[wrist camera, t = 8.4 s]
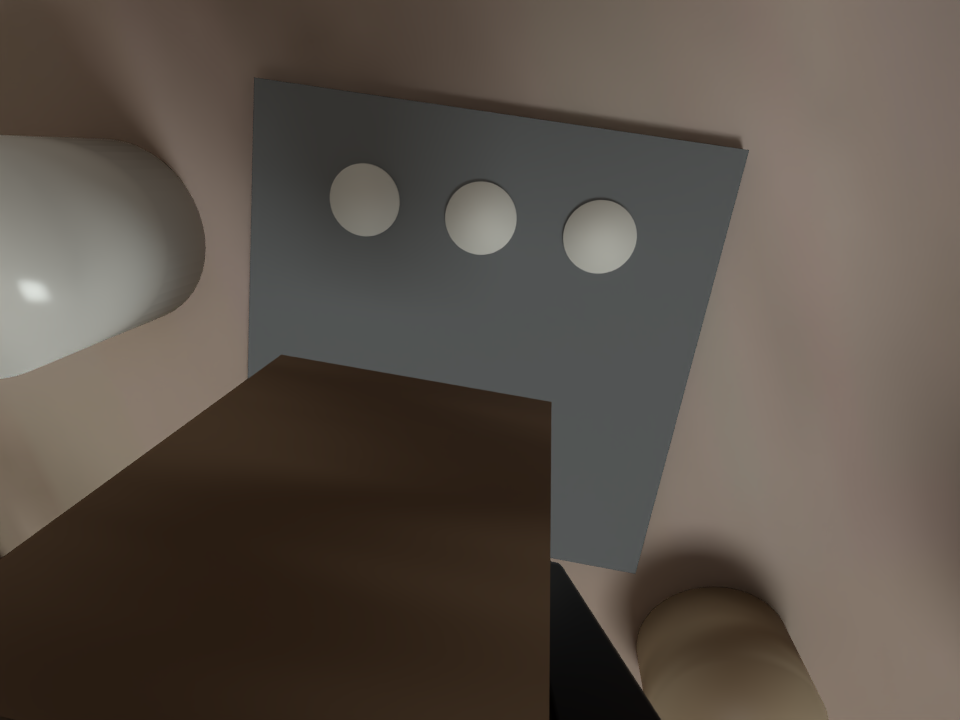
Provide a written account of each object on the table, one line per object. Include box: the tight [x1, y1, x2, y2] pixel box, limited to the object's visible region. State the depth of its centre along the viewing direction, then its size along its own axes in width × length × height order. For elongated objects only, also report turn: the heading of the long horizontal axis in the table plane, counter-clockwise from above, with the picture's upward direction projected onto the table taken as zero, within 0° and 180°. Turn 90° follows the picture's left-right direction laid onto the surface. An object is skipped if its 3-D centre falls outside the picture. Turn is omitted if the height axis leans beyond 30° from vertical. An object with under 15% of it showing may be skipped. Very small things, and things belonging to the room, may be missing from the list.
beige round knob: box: [636, 587, 828, 720], centre depth 18 cm, size 5×5×3 cm
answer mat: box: [248, 78, 749, 574], centre depth 17 cm, size 12×12×1 cm
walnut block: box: [0, 355, 552, 720], centre depth 7 cm, size 4×4×6 cm
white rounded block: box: [0, 135, 206, 379], centre depth 15 cm, size 5×5×5 cm
